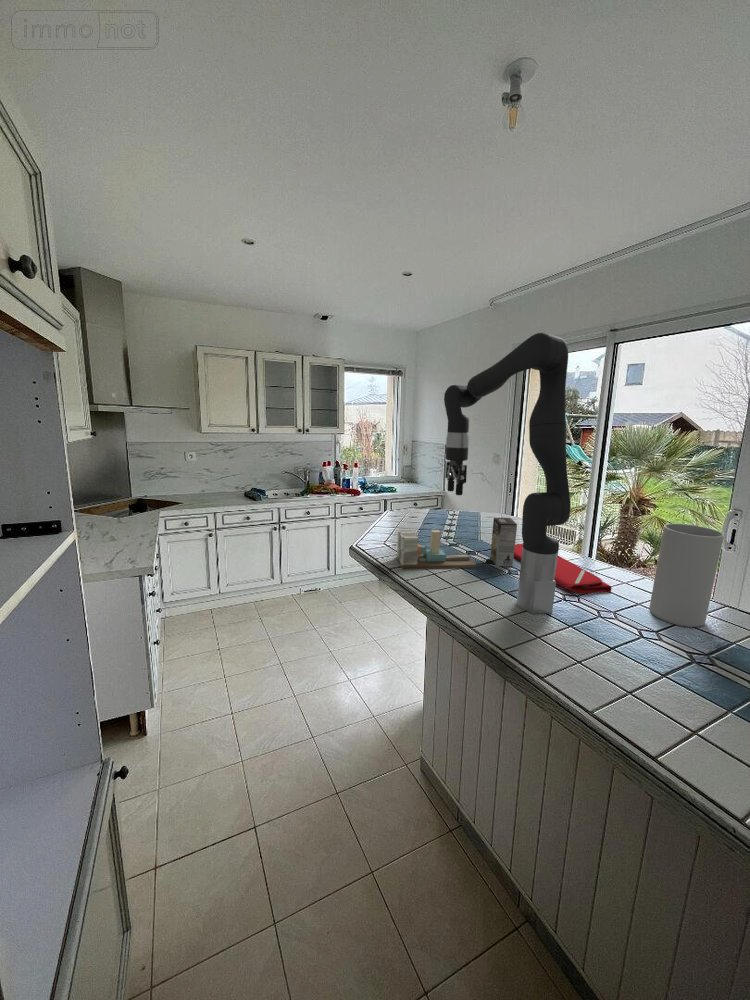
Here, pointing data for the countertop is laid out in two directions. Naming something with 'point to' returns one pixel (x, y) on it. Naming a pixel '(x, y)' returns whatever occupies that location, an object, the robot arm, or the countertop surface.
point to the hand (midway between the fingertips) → (454, 493)
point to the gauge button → (419, 549)
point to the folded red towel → (572, 576)
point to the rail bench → (412, 560)
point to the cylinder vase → (685, 574)
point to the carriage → (433, 548)
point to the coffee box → (503, 541)
